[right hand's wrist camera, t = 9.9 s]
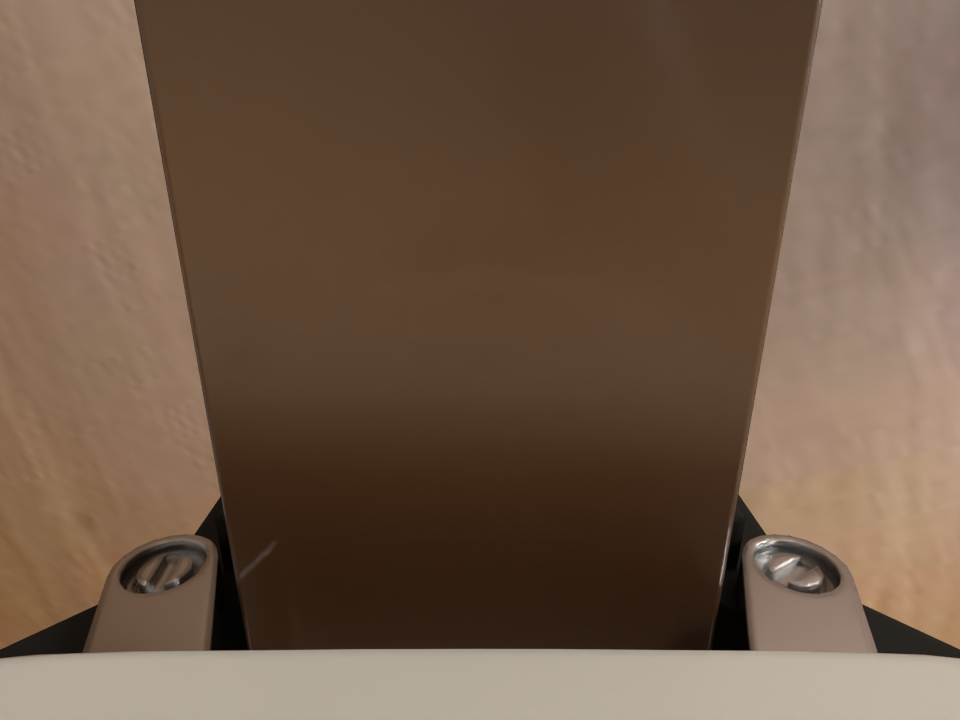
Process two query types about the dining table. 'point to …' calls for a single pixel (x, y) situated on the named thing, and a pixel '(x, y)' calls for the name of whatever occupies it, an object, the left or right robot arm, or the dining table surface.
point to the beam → (479, 303)
